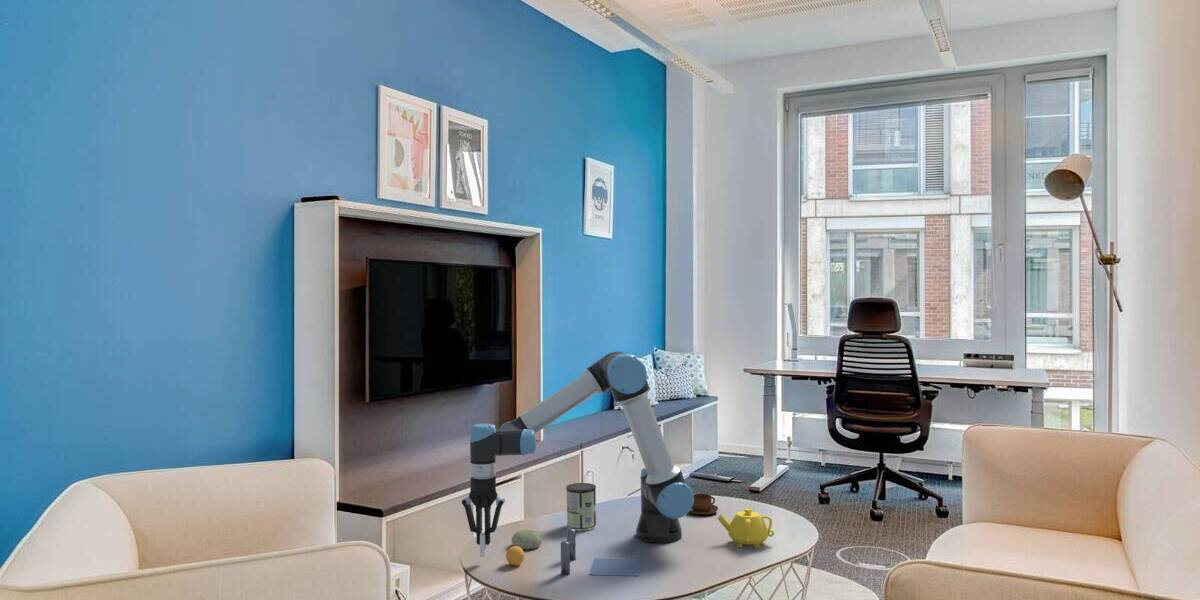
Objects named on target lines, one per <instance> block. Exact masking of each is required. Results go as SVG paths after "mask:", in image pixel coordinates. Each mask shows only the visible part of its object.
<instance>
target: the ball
mask: <svg viewBox="0 0 1200 600" xmlns="http://www.w3.org/2000/svg"><path fill="white" fill-rule="evenodd" d="M505 559H506V562H507V563H508V564H509V565H511V566H519V565H521V564H522V563H523V562H524V559H525V552H524V549H522V548H520V547H518V546H513V545H512V546H510V547H509V548H508V549H507V550H506V553H505Z"/></svg>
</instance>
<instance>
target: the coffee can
mask: <svg viewBox="0 0 1200 600" xmlns="http://www.w3.org/2000/svg"><path fill="white" fill-rule="evenodd" d="M565 489H566V521H567V522H566V527H567V528H566V529H569V528H574V529H575V532H586V531H591V530H594V529H596V528H597V503H596V501H597V500H596V496H597V495H596V489H597V487H596V485H595V484H593V483H590V482H589V483H588V482H575V483H571V484H567V485H566V487H565Z"/></svg>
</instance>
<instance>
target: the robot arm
mask: <svg viewBox="0 0 1200 600" xmlns="http://www.w3.org/2000/svg"><path fill="white" fill-rule="evenodd" d="M647 378H648V371H647V368H646V366H645V364H644V362H643V361H642V360H641V359H640V358H639V357H638V356H636V355H634V354H632V353H627V352H622V351H612V352H609V353H607V354H606V355H604V356H602V357H601V358H599V359H598V360H597V361H595V362H593V364H591V365H590V366H588V367H587V368H585V370H584V373H583V374H582V375H580V376H579V377H577V378H576V379H574V380H572V381H571V382H570V383H568V384H567V385H565V386H563V387H561V388H560V389H559V390H557V391H556V392H554V393H553V394H551V395H550V396H548V397H546V398H545V399H543V400H542V401H540V402H539V403H538V404H535V405H534V406H532V407H531V408H530V409H528V410H527V411H525V412H523V413H522V414H521V415H519V416H518V417H516V418H514V419H512V420H510V421H506V422H504V423H503V424H502V425H501V426H500V428H499V430H497V428H496V425H495V424H493V423H476V424H473V425H472V426H471V427H470V435H469V438H470V439H469V455H470V456H469V458H470V459H469V460H470V463H469V464H470V465H469V466H470V467H469V468H470V470H469V471H470V472H469V473H470V476H471V477H470V480H469V481H470V483H469V484H470V487H469V488H470V492H469V494H468V496H467V497H465V498H463V499H462V500H461V504H462V505H463V508H464V509H465V514H466V518H467V519H466V520H467V522H468V526H469V531H470V532H471V533H475V534H476V544H477V545H479V557H482V558H483V557H484V558H485V557H486V556H487V555H488V545H489V544H490V543H491V533H494V532H496V530H497V527H498V523H499V520H500V515H501V511H502V507H503V505H504V503H505V501H506V499H505V498H500V497H499V496H498V493H497V478H496V474H497V472H496V471H497V468H496V466H497V465H496V462H497V460H496V457H499V456H500V457H502V456H526V455H532V454H534V453H535V452H536V448H537V447H536V445H537V439H536V438H537V437H536V434H538V433H539V432H540V431H542V430H543V429H545V428H547V427H548V426H549V425H551V424H553V423H554V422H556V421H558V420H559V419H560V418H561V417H563V416H564V415H566V414H567V413H569V412H570V411H573V410H574V409H575V408H577V407H579V405H581V404H583V403H584V402H586V401H587V400H589V399H591V398H592V397H594V396H595V395H596V394H600V395H602V394H604V393H605V392H608V391H609V390H610V392H611V395H612V397H613V400H614V402H615V403H617V404H618V405H620V406H621V407H622V409H623V412H624V416H625V418H626V420H627V423H628V426H629V428H630V430H631V434H632V436H633V439H634V441H635V444H636V446H637V449H638V452H639V454H640V457H641V459H642V460H641V461H642V462H643V464H644V467H642V469H641V470H640V506H641V507H640V509H641V511H640V515H639V519H638V522H637V526H636V528H635V536H636V538H637V539H638V540H641V541H644V542H649V543H658V544H659V543H663V544H664V543H672V542H676V541H678V540H680V539H682V536H683V530H682V527H681V524H680V519H681V518H683V517H685V516H686V515H687V514H688V513H689V511H690V510H691V508H692V506H693V503H694V493H693V490H692V489H691V487H690V486H689V485H688V484H687V483H686V481H685V477H684V476H683V473H682V470H681V467H679V466H677V465H675V464H674V463H673V460H672V457H671V454H670V452H669V448H668V446H667V444H666V442H665V439H664V436H663V433H662V430H661V427H660V425H659V422H658V420H657V417H656V415H655V412H654V410H653V407H652V404H651V401H650V398H649V396H648V394H649V392H650V390H651V388H650V384H649V381H648V379H647ZM494 502H495V505H496V507H495V510H494V514H493V519H492V521H491V511H492V510H491V509H492V508H491V507H492V506H493V504H494ZM471 503H472V504H473V505H474V506H475V516H474V513H473V509H472V505H471ZM483 511H484V531H483ZM491 522H492V523H491Z"/></svg>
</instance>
